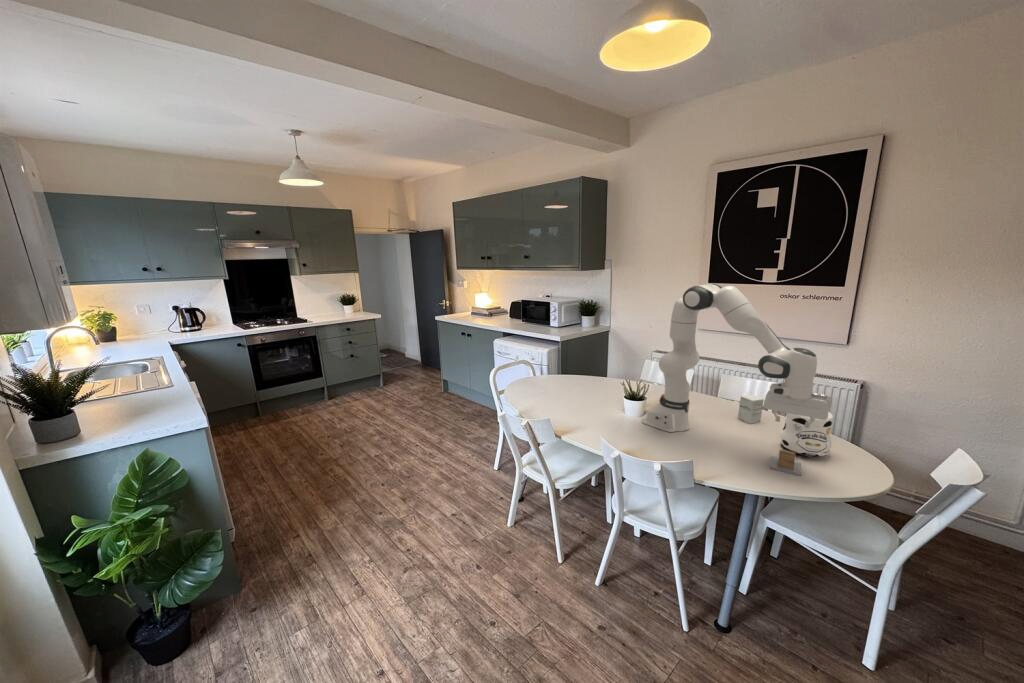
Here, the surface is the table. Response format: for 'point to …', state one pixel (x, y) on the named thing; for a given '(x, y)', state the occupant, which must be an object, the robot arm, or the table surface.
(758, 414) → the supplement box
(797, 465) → the coaster
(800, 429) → the milk container
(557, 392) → the table surface
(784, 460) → the walnut cube
